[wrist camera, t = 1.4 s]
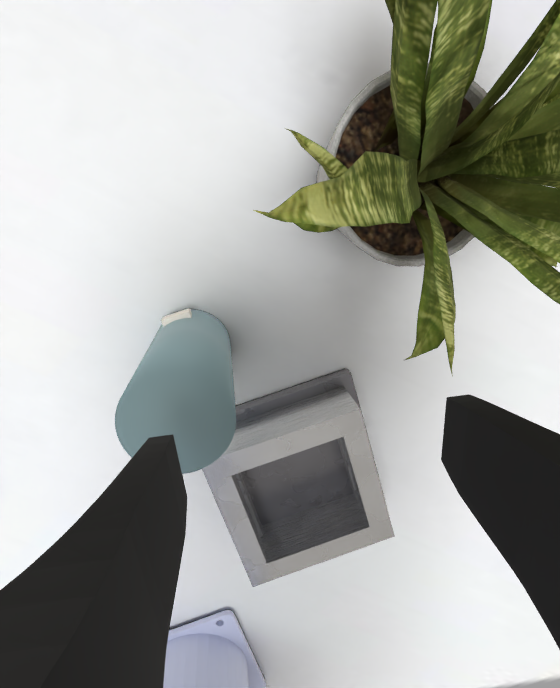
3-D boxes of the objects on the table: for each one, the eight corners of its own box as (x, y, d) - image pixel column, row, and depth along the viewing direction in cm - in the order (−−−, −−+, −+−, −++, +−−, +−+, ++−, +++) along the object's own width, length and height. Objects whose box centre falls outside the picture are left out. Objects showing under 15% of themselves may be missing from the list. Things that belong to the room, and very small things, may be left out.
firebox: (242, 547, 27) (246, 598, 23) (189, 421, 24) (183, 458, 20) (381, 497, 27) (406, 540, 24) (346, 368, 24) (369, 394, 21)
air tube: (240, 366, 23) (251, 451, 15) (171, 389, 23) (143, 489, 15) (214, 296, 22) (210, 345, 13) (142, 320, 22) (91, 384, 13)
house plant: (565, 117, 22) (1417, -136, 6) (437, 350, 25) (804, 572, 9) (326, -39, 18) (892, -1420, 3) (211, 253, 21) (186, 343, 6)
